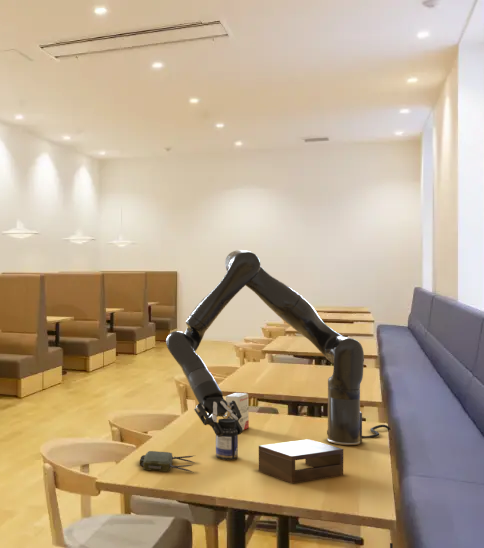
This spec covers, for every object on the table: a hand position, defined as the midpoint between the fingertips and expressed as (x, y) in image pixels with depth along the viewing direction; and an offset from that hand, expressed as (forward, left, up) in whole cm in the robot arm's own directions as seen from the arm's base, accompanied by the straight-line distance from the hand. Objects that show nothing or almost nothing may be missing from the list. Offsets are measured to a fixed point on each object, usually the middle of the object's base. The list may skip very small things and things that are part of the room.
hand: (230, 434), depth 209 cm
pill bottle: (0, -2, -8) cm, 8 cm away
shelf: (-8, +18, -7) cm, 21 cm away
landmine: (+20, -2, -8) cm, 22 cm away
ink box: (-28, -30, -8) cm, 41 cm away
